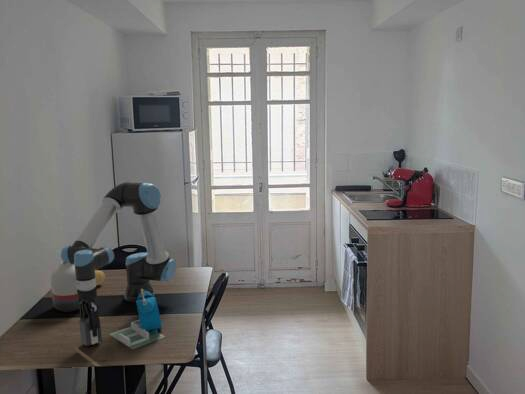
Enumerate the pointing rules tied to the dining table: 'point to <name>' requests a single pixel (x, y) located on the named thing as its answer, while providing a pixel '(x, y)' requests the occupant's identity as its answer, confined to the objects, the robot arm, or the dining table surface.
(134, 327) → the header 2pin
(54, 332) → the dining table surface
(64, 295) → the vase
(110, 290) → the dining table surface
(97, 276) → the potato
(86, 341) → the plug
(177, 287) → the dining table surface
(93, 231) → the robot arm
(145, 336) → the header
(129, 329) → the board
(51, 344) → the dining table surface
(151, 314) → the blue suitcase
